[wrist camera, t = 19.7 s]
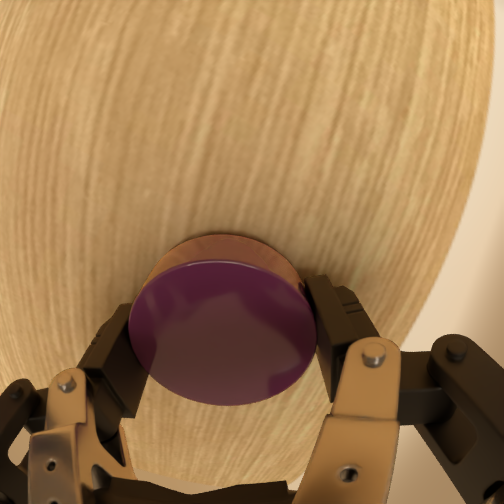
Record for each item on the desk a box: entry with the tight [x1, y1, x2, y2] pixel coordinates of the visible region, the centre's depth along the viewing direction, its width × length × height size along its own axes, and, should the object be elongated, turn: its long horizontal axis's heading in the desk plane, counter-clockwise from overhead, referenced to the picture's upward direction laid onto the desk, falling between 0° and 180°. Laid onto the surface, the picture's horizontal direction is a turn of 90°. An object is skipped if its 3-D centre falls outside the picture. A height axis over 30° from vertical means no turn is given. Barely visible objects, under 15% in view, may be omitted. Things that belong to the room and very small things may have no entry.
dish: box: [128, 234, 317, 406], centre depth 10 cm, size 6×6×3 cm
